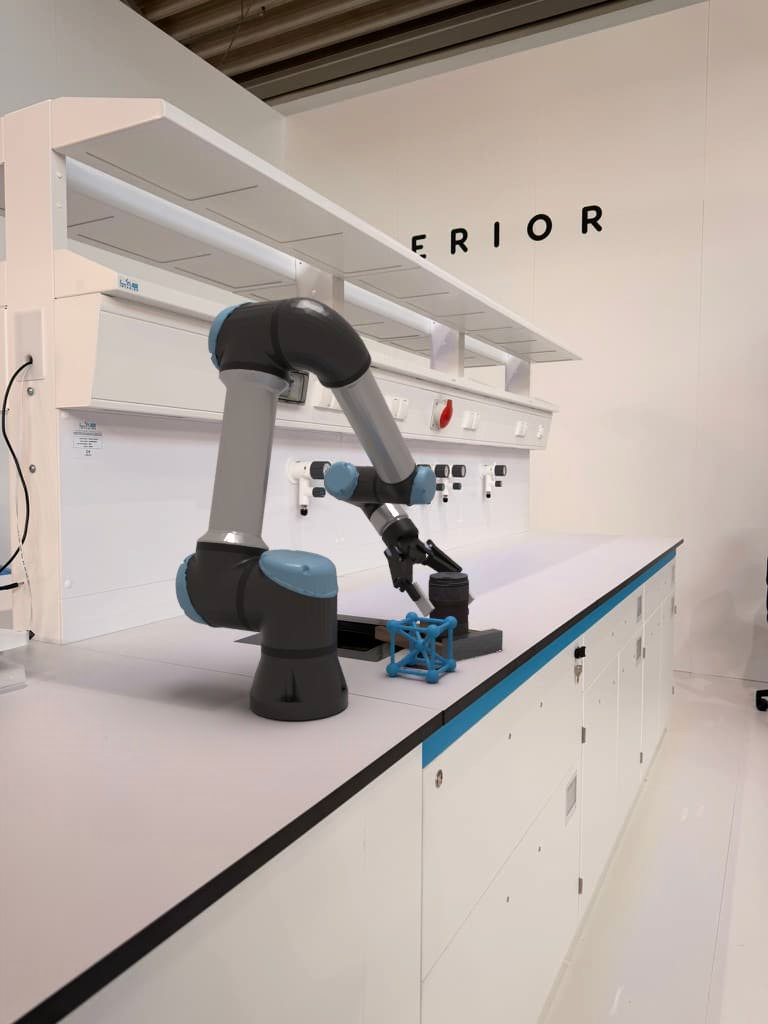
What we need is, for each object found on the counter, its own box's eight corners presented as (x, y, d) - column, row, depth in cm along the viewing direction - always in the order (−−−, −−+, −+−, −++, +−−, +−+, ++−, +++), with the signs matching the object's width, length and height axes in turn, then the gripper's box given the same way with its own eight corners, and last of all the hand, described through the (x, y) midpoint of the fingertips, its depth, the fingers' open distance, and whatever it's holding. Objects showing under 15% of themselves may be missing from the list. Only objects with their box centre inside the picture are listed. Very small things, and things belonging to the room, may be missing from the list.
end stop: (451, 662, 137) (451, 641, 137) (442, 659, 139) (442, 638, 139) (502, 650, 146) (502, 630, 146) (493, 648, 148) (493, 628, 148)
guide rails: (442, 659, 139) (442, 646, 139) (375, 638, 156) (375, 626, 155) (493, 648, 148) (493, 635, 148) (424, 629, 164) (424, 618, 164)
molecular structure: (408, 663, 137) (408, 610, 136) (458, 670, 133) (459, 615, 132) (383, 676, 128) (383, 620, 128) (435, 685, 124) (436, 626, 123)
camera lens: (430, 642, 152) (430, 570, 151) (469, 644, 151) (470, 572, 150) (425, 652, 144) (426, 577, 143) (467, 654, 143) (468, 578, 142)
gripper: (422, 534, 168) (475, 609, 159) (344, 543, 149) (399, 628, 140) (441, 512, 164) (496, 588, 155) (363, 519, 145) (421, 605, 136)
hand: (450, 607), depth 148 cm, fingers open, 13 cm apart
